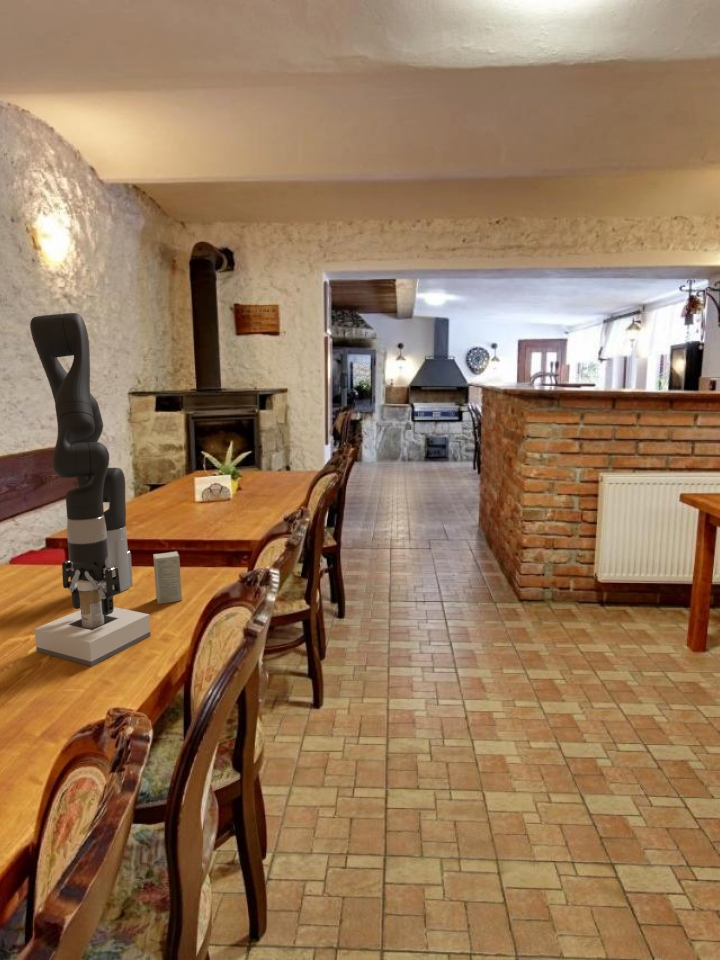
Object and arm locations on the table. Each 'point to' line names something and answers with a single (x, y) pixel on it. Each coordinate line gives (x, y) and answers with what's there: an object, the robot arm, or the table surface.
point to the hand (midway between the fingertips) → (93, 610)
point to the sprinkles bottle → (90, 605)
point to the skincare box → (167, 577)
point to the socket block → (92, 636)
